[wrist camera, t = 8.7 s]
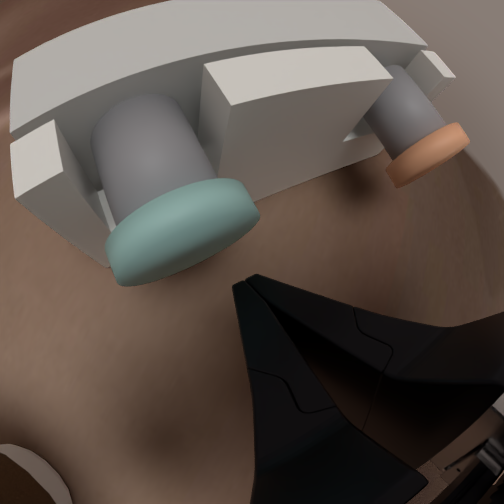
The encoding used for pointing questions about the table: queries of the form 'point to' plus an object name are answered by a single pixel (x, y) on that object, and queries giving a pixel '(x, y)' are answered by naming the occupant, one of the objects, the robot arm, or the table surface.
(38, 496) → the coffee cup
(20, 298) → the table surface
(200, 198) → the teal button
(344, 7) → the button panel
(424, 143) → the terracotta button
